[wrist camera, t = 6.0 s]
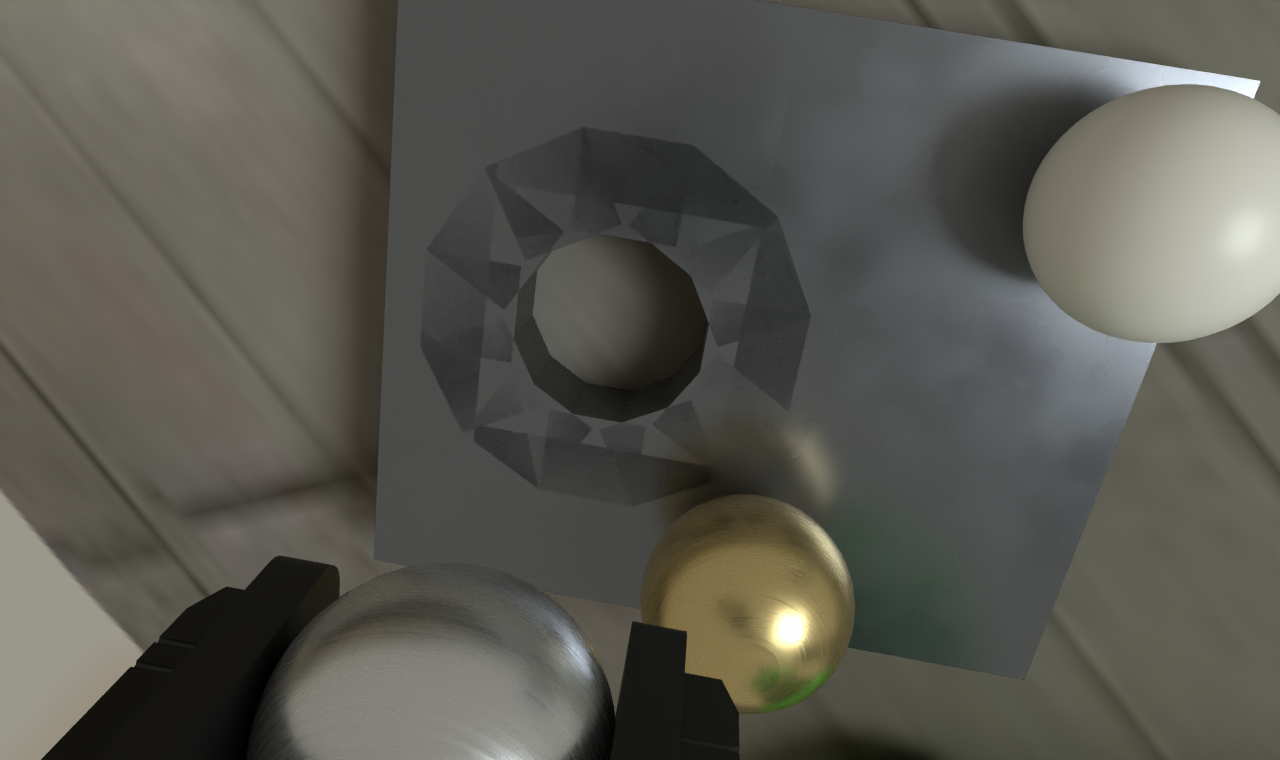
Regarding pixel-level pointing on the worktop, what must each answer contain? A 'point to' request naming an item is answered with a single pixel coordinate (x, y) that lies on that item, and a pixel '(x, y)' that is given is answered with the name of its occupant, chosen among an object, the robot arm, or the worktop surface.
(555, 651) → the steel ball
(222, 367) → the worktop surface
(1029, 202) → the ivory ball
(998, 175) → the plate
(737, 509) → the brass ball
